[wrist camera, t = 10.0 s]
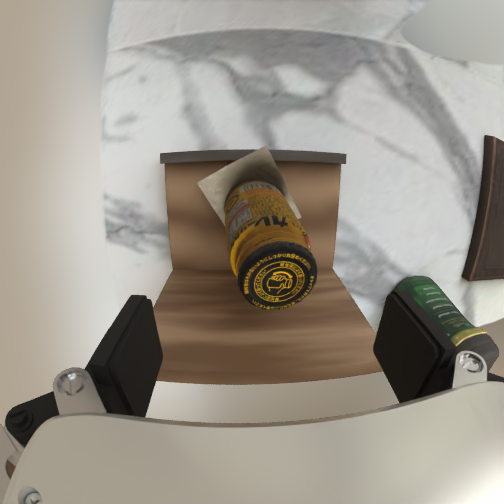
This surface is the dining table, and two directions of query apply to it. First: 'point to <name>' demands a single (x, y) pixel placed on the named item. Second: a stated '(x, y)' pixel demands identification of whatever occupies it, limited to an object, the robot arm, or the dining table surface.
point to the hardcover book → (489, 218)
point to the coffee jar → (450, 318)
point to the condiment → (262, 231)
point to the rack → (232, 300)
